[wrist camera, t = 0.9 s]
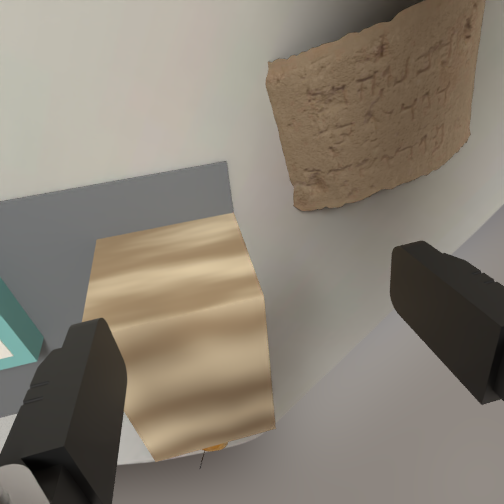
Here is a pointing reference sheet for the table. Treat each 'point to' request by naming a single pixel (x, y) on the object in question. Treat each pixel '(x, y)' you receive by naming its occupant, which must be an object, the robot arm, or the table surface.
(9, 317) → the card box
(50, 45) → the table surface
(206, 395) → the oak block
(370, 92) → the clay tablet
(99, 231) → the mat
